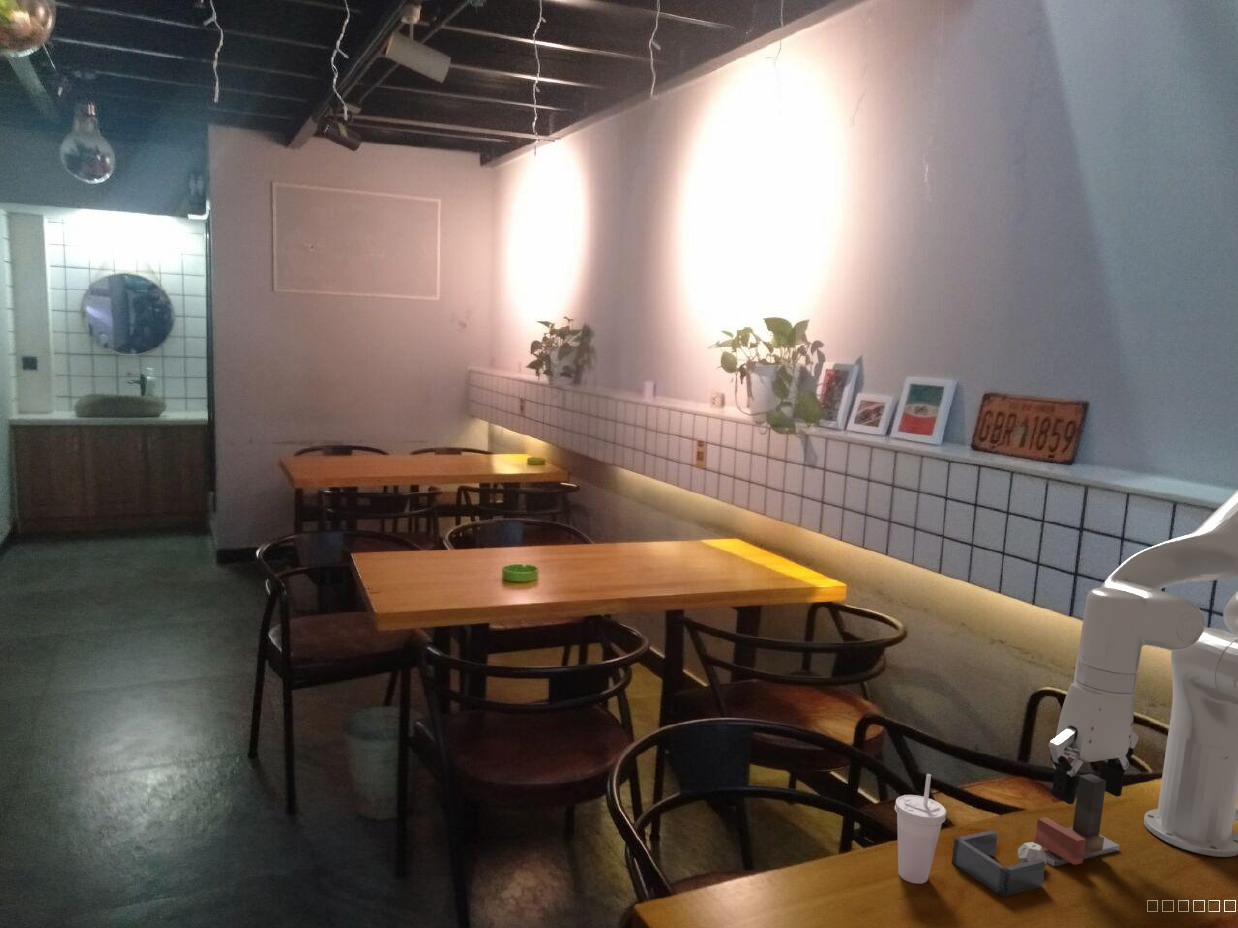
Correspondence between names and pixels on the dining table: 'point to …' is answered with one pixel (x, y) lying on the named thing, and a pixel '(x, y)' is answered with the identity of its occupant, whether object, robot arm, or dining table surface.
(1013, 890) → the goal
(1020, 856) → the game die
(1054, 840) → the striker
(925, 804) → the smoothie
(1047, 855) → the rail
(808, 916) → the dining table surface
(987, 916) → the dining table surface
